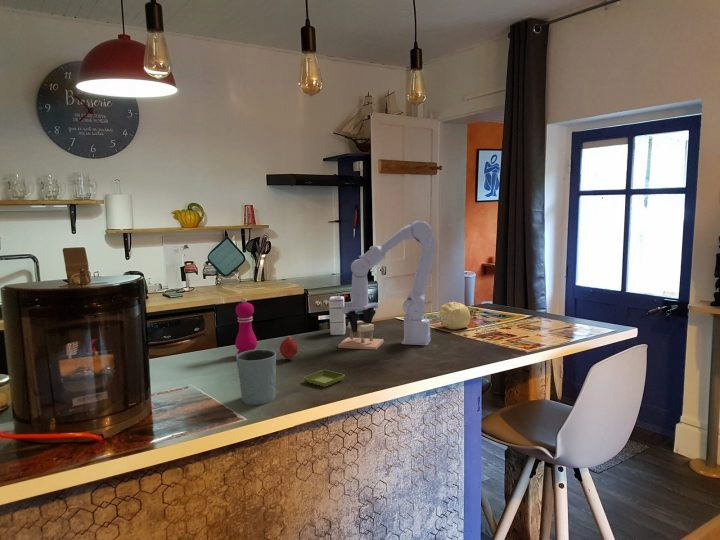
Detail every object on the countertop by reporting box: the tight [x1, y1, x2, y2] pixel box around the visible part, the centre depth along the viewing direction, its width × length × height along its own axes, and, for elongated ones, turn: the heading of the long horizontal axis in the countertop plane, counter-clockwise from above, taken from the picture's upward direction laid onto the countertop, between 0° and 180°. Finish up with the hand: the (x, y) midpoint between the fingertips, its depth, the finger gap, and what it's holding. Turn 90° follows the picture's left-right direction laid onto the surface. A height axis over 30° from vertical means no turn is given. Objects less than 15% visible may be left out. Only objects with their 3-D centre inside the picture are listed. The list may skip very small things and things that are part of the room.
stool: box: [347, 320, 375, 343], centre depth 187 cm, size 9×5×6 cm, turn 34°
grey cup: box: [235, 348, 277, 406], centre depth 135 cm, size 10×10×12 cm
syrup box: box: [328, 295, 347, 336], centre depth 205 cm, size 6×6×14 cm
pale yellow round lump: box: [439, 301, 471, 330], centre depth 210 cm, size 11×12×11 cm
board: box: [337, 336, 385, 351], centre depth 188 cm, size 14×11×1 cm
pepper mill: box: [235, 297, 258, 356], centre depth 175 cm, size 7×7×20 cm
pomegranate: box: [279, 335, 299, 361], centre depth 171 cm, size 6×6×8 cm
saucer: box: [303, 369, 346, 388], centre depth 148 cm, size 9×9×2 cm
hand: (360, 330), depth 187 cm, fingers closed on stool, 5 cm apart
